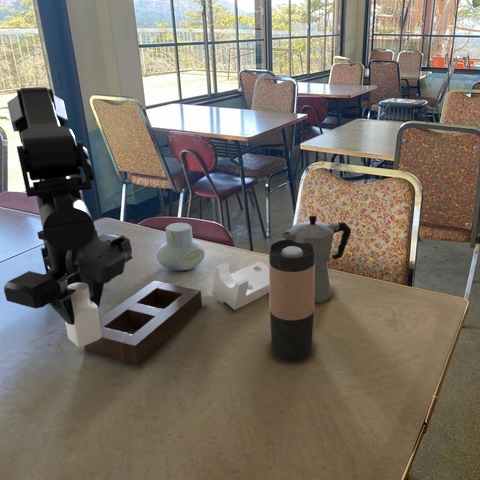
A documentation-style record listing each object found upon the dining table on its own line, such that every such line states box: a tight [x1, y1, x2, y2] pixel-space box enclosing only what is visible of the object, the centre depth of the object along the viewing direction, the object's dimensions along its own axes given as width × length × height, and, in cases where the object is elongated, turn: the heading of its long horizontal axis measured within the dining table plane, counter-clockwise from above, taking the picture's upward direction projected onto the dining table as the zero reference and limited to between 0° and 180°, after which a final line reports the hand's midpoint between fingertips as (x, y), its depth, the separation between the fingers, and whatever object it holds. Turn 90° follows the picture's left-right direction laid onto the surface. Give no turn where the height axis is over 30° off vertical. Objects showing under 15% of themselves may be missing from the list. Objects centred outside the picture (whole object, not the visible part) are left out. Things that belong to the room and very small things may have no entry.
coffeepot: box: [281, 214, 352, 304], centre depth 101 cm, size 15×9×18 cm, turn 113°
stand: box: [83, 280, 203, 366], centre depth 90 cm, size 11×20×4 cm, turn 161°
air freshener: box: [156, 222, 206, 272], centre depth 113 cm, size 11×8×10 cm
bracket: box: [211, 260, 269, 311], centre depth 102 cm, size 13×7×8 cm, turn 139°
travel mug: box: [268, 239, 315, 363], centre depth 82 cm, size 8×8×20 cm
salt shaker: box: [64, 282, 102, 348], centre depth 75 cm, size 4×4×10 cm
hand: (83, 315), depth 75 cm, fingers closed on salt shaker, 5 cm apart
